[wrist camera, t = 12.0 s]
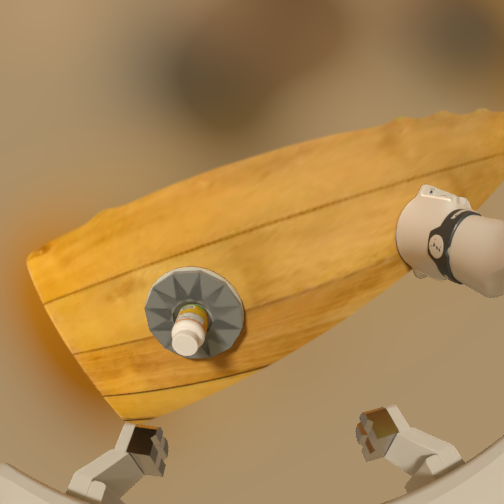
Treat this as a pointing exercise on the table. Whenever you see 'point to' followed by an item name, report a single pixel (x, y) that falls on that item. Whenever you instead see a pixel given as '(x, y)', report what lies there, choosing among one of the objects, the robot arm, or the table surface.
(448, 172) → the table surface
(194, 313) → the supplement bottle
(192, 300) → the grey faceted round plate
